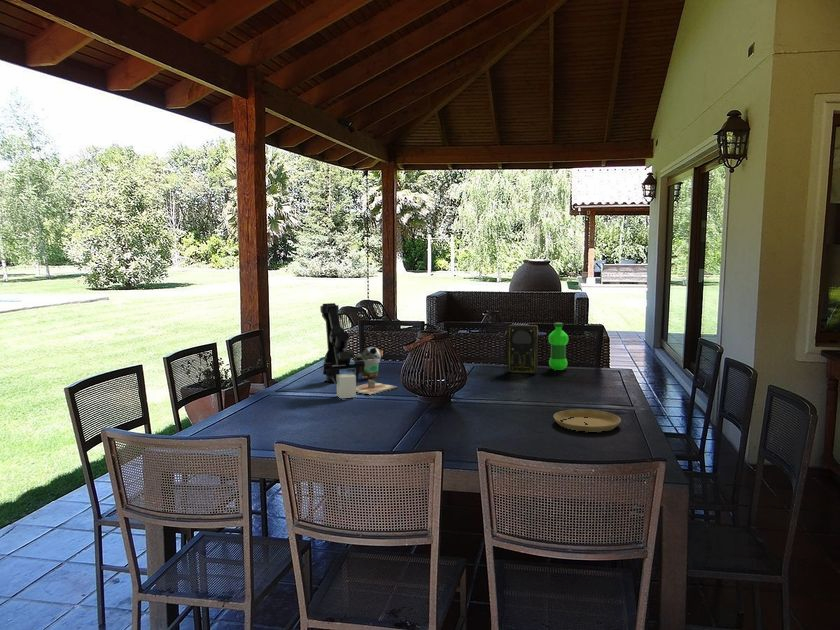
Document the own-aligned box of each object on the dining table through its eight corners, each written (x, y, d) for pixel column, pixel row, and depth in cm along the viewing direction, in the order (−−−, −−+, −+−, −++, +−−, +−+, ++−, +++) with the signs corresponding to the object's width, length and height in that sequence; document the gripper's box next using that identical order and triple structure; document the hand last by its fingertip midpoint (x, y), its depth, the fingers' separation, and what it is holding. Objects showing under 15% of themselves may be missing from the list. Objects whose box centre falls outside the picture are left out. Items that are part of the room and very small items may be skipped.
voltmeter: (506, 373, 329) (506, 325, 326) (509, 370, 337) (509, 323, 335) (536, 374, 325) (537, 326, 322) (538, 371, 333) (539, 324, 330)
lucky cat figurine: (367, 363, 362) (378, 342, 360) (379, 374, 355) (390, 353, 352) (348, 359, 351) (359, 338, 349) (360, 370, 344) (371, 348, 341)
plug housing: (339, 399, 279) (339, 377, 277) (336, 395, 286) (336, 374, 284) (356, 398, 281) (355, 376, 280) (352, 394, 288) (352, 372, 287)
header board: (345, 390, 295) (345, 381, 295) (372, 384, 309) (372, 375, 308) (370, 395, 285) (369, 386, 284) (397, 388, 298) (396, 379, 298)
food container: (369, 381, 316) (368, 361, 315) (360, 379, 320) (359, 360, 319) (385, 376, 326) (384, 357, 325) (376, 375, 329) (375, 356, 328)
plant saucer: (571, 413, 251) (571, 405, 251) (630, 423, 236) (631, 415, 236) (541, 427, 233) (541, 419, 232) (604, 439, 218) (604, 430, 217)
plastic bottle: (544, 368, 339) (545, 322, 337) (562, 367, 343) (562, 321, 340) (554, 372, 330) (554, 324, 327) (571, 370, 333) (572, 323, 330)
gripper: (322, 345, 282) (327, 374, 272) (363, 342, 287) (369, 371, 278) (320, 359, 290) (325, 388, 281) (360, 357, 295) (366, 385, 286)
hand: (346, 383), depth 281 cm, fingers open, 9 cm apart
